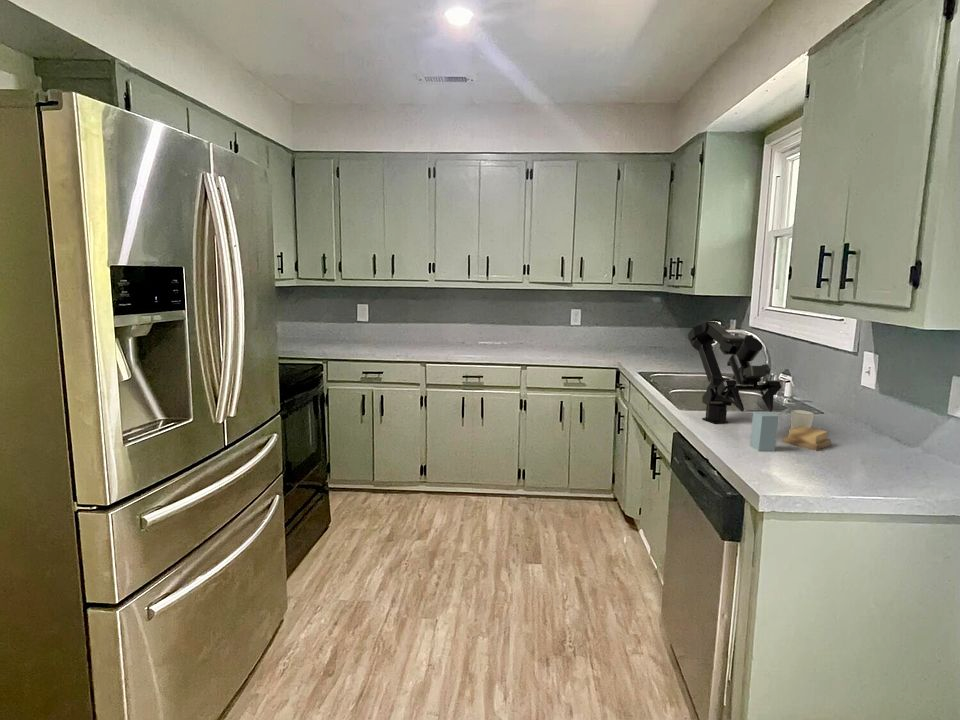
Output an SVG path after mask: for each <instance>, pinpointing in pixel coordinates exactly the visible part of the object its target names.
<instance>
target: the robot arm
mask: <svg viewBox="0 0 960 720" xmlns="http://www.w3.org/2000/svg"><path fill="white" fill-rule="evenodd" d="M687 338H688V341H689V342H690V345H691V347H692V348H694V349H695V350H696V351H698V354H699V357H700V359H701V362H702V366H703V369H704V372H705V375H706V378H707V381H708V384H707V386H706V391H705V392H704V394H703V395H702V401H701V402H702V403H703V404H704V405H706V406H705V407H706V409H705V410H706V411H705V417H702V418H701V420H703V421H706V422H708V423H712V424H714V425H715V424H716V425H717V424H724V423H729V420H728V419H727V412H728V411H727V407H728V406H730V407H731V406H732V404H733V406H735V407H736V408H737V409H738V410H739V411H741V412H744V411H745V407H744V404H743V400H742V398H741V396H740V391H741V392H742V391H744V392H760V394H761V395H762V396H761V399H762V400H763V402H764V404H765V406H766V408H767V410H768V412H770V413H772V411H773V409H774V396H775V395H776V394H778V392H779V391H780V390H781V389H782V388H783V386H782V383H781V381H780V380H777V379H776V380H775V379H774V380H772V379H767V380H765V381H764V383H763V384H758V383H760V382H761V381H762V378H763V377H767V376H768V375H770V374H771V368H770V366H769V364H762V365H751V362H753V361H754V360H755V358H756V357H757V356H758V355H759V354H760V352H761V351H762V349H763V342H761V341H760V340H759V339H757V338H755V337H754V336H753V334H746V335H745V336H744V337H742V336H739V335H734V334H731V333H730V332H729V331H728V330H726V329H725V328H724V327H722V326H721V325H720V324H719V322H718V321H715V320H714V321H713V320H711V321H709V320H708V321H707V320H706V321H703V322H702V323H700V324H699V325H697V326H694V327H692V328H691V329H690V331H689V332H688V334H687ZM714 341H715V342H717V343H718V345H719V350H720V351H721V353H722V354H723V355H731V356H730V357H729V359H728V361H727V363H726V367H731V370H732V373H733V376H732V379H730V378H728V377H725V378H724V377H723V375H722V371H721V369H720V365H719V363H718V360H717V359H716V355H715V351H714V349H713V346H712V345H713V342H714Z"/></svg>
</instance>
